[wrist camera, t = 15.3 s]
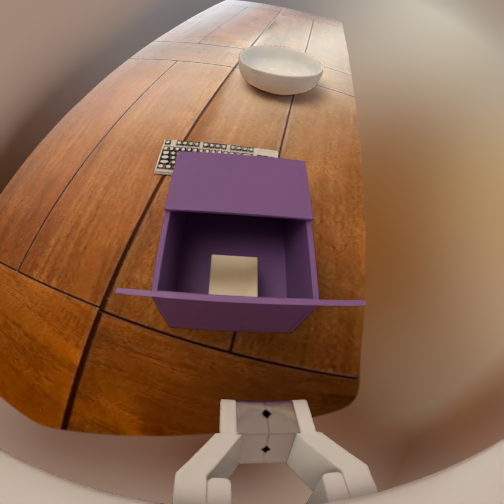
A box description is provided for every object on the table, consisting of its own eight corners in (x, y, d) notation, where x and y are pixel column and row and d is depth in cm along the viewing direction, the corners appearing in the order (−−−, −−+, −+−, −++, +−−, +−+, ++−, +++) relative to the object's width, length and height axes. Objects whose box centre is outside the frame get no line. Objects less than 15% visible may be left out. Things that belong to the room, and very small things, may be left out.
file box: (291, 333, 31) (322, 301, 22) (168, 327, 30) (148, 292, 21) (285, 217, 38) (305, 160, 29) (184, 210, 37) (177, 150, 28)
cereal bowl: (283, 66, 61) (288, 41, 54) (331, 99, 55) (340, 72, 49) (221, 76, 55) (223, 48, 49) (267, 114, 49) (273, 81, 43)
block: (252, 314, 31) (257, 300, 27) (209, 312, 30) (208, 297, 26) (252, 275, 33) (257, 257, 29) (212, 273, 33) (211, 254, 29)
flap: (321, 300, 22) (321, 304, 22) (149, 291, 21) (149, 295, 21) (365, 300, 15) (365, 305, 15) (115, 287, 14) (114, 293, 14)
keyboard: (154, 174, 39) (153, 166, 38) (165, 145, 42) (164, 138, 41) (276, 187, 40) (278, 179, 39) (276, 157, 43) (278, 149, 42)
